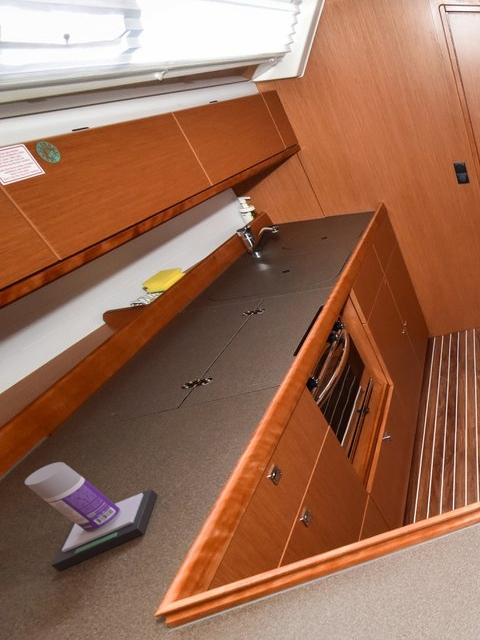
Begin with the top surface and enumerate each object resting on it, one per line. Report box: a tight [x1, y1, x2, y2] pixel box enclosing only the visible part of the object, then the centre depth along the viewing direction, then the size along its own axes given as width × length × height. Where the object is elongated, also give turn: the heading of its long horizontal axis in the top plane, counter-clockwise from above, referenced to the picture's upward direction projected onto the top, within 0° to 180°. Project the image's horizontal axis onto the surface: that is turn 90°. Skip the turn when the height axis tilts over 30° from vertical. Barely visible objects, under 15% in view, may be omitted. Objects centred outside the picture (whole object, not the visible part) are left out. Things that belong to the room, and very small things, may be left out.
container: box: [24, 461, 121, 532], centre depth 75 cm, size 5×5×15 cm
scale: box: [51, 488, 158, 572], centre depth 80 cm, size 11×10×3 cm
